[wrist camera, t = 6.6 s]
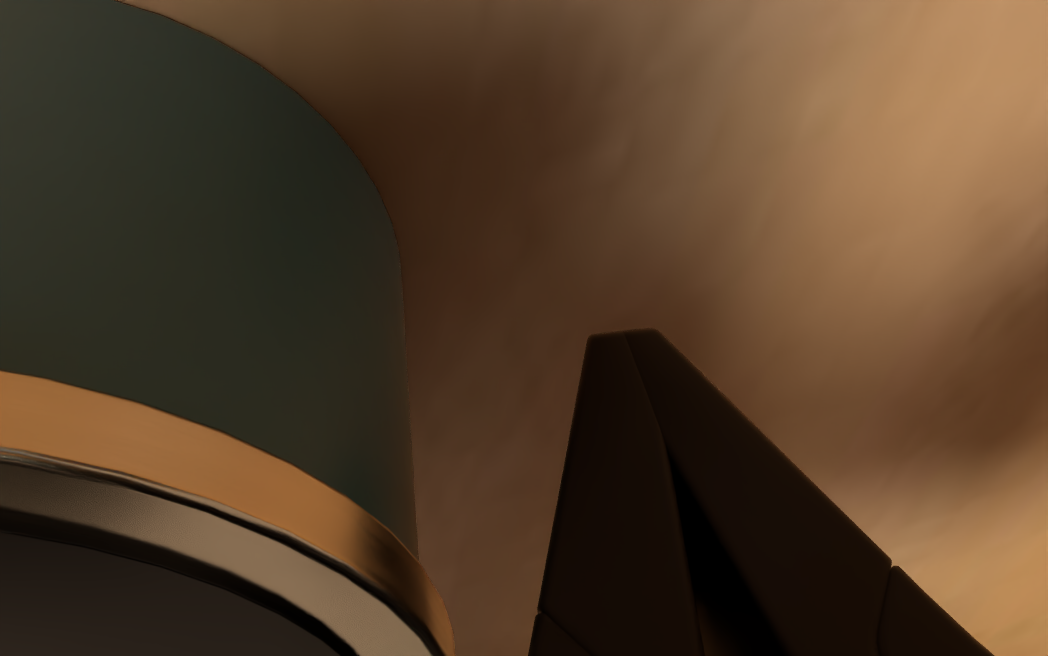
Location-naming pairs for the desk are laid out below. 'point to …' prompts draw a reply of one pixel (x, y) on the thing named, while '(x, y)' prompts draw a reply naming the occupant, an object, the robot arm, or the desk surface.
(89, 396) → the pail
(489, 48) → the desk surface
